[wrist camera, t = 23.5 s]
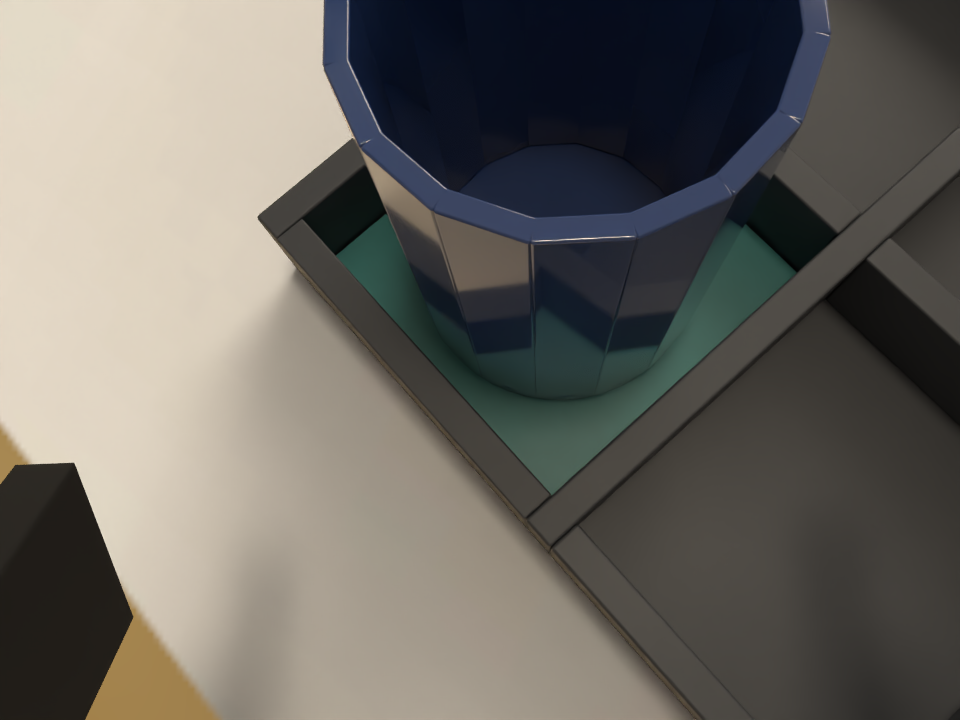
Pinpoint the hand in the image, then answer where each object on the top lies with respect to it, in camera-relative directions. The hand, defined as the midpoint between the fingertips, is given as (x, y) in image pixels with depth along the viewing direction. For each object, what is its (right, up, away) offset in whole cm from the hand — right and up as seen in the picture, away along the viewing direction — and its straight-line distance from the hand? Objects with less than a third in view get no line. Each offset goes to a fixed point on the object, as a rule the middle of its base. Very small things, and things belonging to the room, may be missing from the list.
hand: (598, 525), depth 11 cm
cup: (+1, +5, +12) cm, 13 cm away
